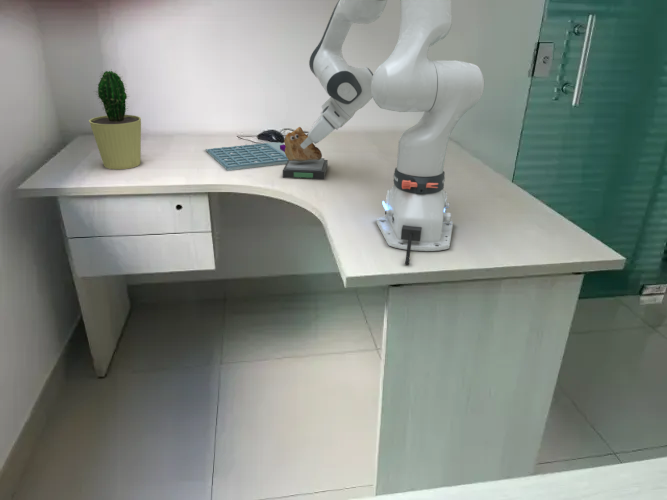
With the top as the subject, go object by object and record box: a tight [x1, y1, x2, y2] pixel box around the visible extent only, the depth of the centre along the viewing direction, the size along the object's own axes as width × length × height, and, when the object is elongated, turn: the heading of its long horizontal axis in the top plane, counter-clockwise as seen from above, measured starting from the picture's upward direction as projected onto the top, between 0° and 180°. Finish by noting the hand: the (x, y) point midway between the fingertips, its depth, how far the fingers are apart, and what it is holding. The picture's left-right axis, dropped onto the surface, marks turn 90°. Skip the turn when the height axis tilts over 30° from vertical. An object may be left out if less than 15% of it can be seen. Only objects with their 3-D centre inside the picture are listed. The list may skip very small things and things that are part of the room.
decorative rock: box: [283, 126, 323, 161], centre depth 166 cm, size 12×6×11 cm, turn 117°
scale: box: [282, 157, 329, 180], centre depth 169 cm, size 14×13×3 cm
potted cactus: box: [88, 68, 142, 170], centre depth 166 cm, size 15×15×30 cm
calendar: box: [205, 141, 288, 171], centre depth 185 cm, size 27×29×2 cm
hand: (303, 143), depth 166 cm, fingers open, 8 cm apart
